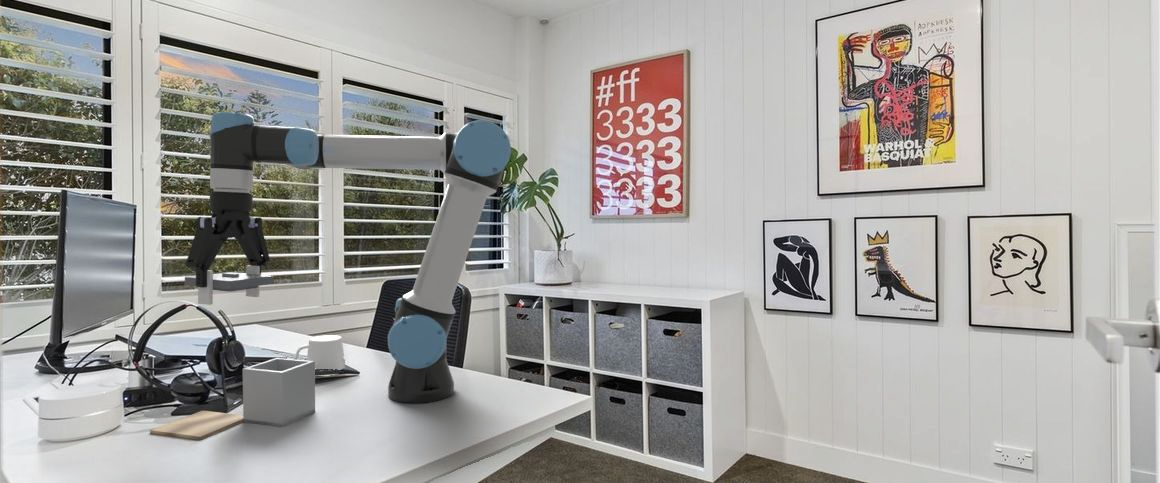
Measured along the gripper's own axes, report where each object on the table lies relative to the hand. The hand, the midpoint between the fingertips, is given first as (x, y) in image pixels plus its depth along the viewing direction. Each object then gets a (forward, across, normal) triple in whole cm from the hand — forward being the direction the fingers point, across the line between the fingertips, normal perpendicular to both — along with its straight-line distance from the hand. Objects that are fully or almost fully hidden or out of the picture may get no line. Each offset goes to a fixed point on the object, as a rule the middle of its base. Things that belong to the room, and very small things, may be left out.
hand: (230, 300), depth 125 cm
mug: (+25, -37, -7) cm, 45 cm away
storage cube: (+25, -6, +8) cm, 27 cm away
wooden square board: (+25, +3, -3) cm, 26 cm away
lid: (-2, 0, 0) cm, 2 cm away
